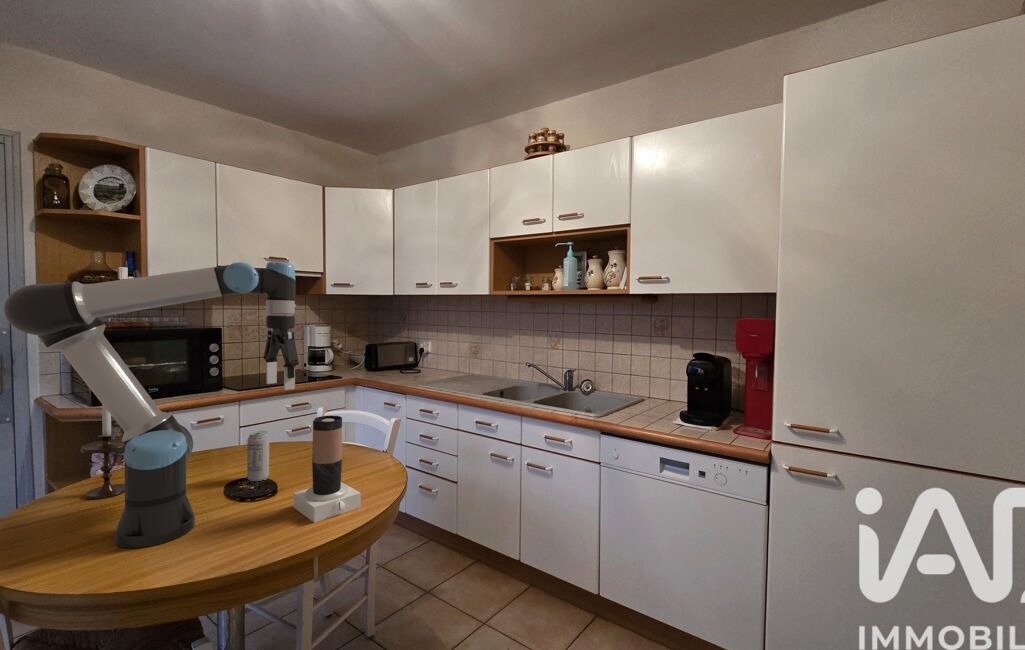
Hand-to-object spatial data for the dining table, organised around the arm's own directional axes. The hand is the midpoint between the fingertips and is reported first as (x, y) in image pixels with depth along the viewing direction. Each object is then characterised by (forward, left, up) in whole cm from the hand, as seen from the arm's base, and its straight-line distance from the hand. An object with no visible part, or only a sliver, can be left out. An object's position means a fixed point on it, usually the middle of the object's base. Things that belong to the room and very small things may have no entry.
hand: (280, 386), depth 133 cm
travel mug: (+5, -20, -27) cm, 34 cm away
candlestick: (-35, +33, -32) cm, 58 cm away
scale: (+5, -20, -32) cm, 38 cm away
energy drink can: (-1, +14, -32) cm, 35 cm away
